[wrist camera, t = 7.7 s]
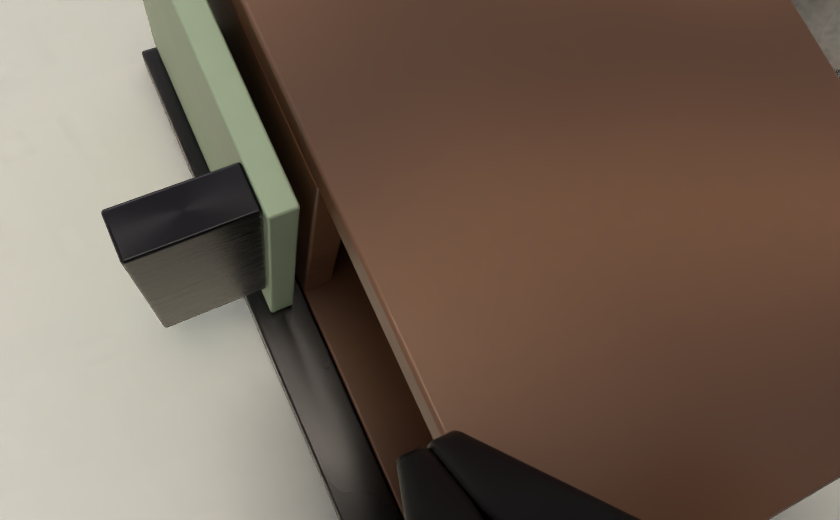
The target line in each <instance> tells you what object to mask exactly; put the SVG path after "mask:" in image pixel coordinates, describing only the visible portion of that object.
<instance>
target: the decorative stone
mask: <svg viewBox="0 0 840 520" xmlns="http://www.w3.org/2000/svg"><path fill="white" fill-rule="evenodd" d="M791 1H792V2H793V4H794V6H795V7H796V9H797V11H798V12H799V14H800V15H801V17H802V19H803V20H804V22H805V23H806V25H807V27H808V28H809V30H810V31H811V33H812V35H813V36H814V38H815V40H816V41H817V43H818V44H819V46H820V48H821V49H822V51H823V52H824V54H825V56H826V57H827V59H828V61H829V62H830V64H831V65H832V67H833V69H834V70H840V0H791Z"/></svg>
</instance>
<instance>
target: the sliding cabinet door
mask: <svg viewBox="0 0 840 520" xmlns="http://www.w3.org/2000/svg"><path fill="white" fill-rule="evenodd" d="M143 2H144V6H145V9H146V13H147V16H148V20H149V24H150V27H151V31H152V35H153V38H154V42H155V45H156V47H157V49H158V52H159V54H160V56H161V59H162V61H163V63H164V65H165V68H166V70H167V72H168V75H169V77H170V79H171V82H172V84H173V86H174V89H175V91H176V93H177V96H178V98H179V100H180V103H181V105H182V107H183V110H184V112H185V114H186V116H187V119H188V121H189V123H190V126H191V128H192V130H193V133H194V135H195V137H196V140H197V142H198V144H199V147H200V149H201V151H202V154H203V156H204V158H205V160H206V163H207V165H208V167H209V170H210V172H209V173H206V174H203V175H201V176H198V177H195V178H192V179H189V180H186V181H184V182H181V183H178V184H175V185H172V186H169V187H167V188H164V189H161V190H158V191H155V192H152V193H149V194H147V195H144V196H141V197H138V198H135V199H132V200H130V201H127V202H124V203H121V204H118V205H115V206H113V207H110V208H107V209H104V210H102V213H101V214H102V217H103V219H104V222H105V224H106V227H107V229H108V232H109V234H110V237H111V239H112V242H113V244H114V247H115V250H116V252H117V255H118V257H119V260H120V262H121V264H122V265H123V267H124V268H125V269H126V271H127V272H128V274H129V275H130V277H131V278H132V280H133V281H134V283H135V284H136V286H137V287H138V289H139V290H140V292H141V293H142V294H143V296H144V297H145V299H146V300H147V302H148V303H149V305H150V306H151V308H152V309H153V311H154V312H155V314H156V315H157V316H158V318H159V319H160V321H161V322H162V324H163V325H164V326H165V327H170V326H172V325H175V324H177V323H180V322H182V321H185V320H187V319H190V318H192V317H195V316H197V315H200V314H202V313H205V312H207V311H210V310H212V309H215V308H217V307H220V306H222V305H225V304H227V303H230V302H232V301H235V300H237V299H240V298H242V297H245V296H247V295H250V294H252V293H255V292H257V291H260V290H262V293H263V295H264V297H265V300H266V302H267V304H268V307H269V309H270V311H271V312H276V311H278V310H281V309H283V308H285V307H288V306H290V305H292V304H293V294H294V280H295V266H296V253H297V239H298V225H299V212H300V205H299V203H298V200H297V198H296V196H295V194H294V192H293V189H292V187H291V185H290V183H289V181H288V178H287V176H286V174H285V172H284V170H283V167H282V165H281V163H280V161H279V158H278V156H277V154H276V152H275V150H274V147H273V145H272V143H271V141H270V139H269V136H268V134H267V132H266V130H265V127H264V125H263V123H262V121H261V119H260V116H259V114H258V112H257V110H256V108H255V105H254V103H253V101H252V99H251V96H250V94H249V92H248V90H247V88H246V85H245V83H244V81H243V79H242V77H241V74H240V72H239V70H238V68H237V65H236V63H235V61H234V59H233V57H232V54H231V52H230V50H229V48H228V46H227V43H226V41H225V39H224V37H223V34H222V32H221V30H220V28H219V26H218V23H217V21H216V19H215V17H214V15H213V12H212V10H211V8H210V6H209V3H208V1H207V0H143Z"/></svg>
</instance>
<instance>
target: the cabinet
mask: <svg viewBox="0 0 840 520" xmlns="http://www.w3.org/2000/svg"><path fill="white" fill-rule="evenodd" d="M207 1H208V3H209V6H210V8H211V10H212V12H213V15H214V17H215V19H216V21H217V23H218V26H219V28H220V30H221V32H222V34H223V37H224V39H225V41H226V43H227V46H228V48H229V50H230V52H231V54H232V57H233V59H234V61H235V63H236V65H237V68H238V70H239V72H240V74H241V77H242V79H243V81H244V83H245V85H246V88H247V90H248V92H249V94H250V96H251V99H252V101H253V103H254V105H255V108H256V110H257V112H258V114H259V116H260V119H261V121H262V123H263V125H264V127H265V130H266V132H267V134H268V136H269V139H270V141H271V143H272V145H273V147H274V150H275V152H276V154H277V156H278V158H279V161H280V163H281V165H282V167H283V170H284V172H285V174H286V176H287V178H288V181H289V183H290V185H291V187H292V189H293V192H294V194H295V196H296V198H297V200H298V203H299V205H300V212H299V225H298V239H297V253H296V266H295V280H294V294H293V304H292V305H290V306H288V307H285V308H283V309H281V310H278V311H276V312H271V311H270V309H269V307H268V304H267V302H266V300H265V297H264V295H263V293H262V290H260V291H257V292H255V293H252V294H250V295H247V296H245V297H244V298H245V300H246V302H247V305H248V307H249V309H250V312H251V314H252V316H253V319H254V321H255V323H256V326H257V328H258V331H259V333H260V335H261V338H262V340H263V342H264V345H265V347H266V349H267V352H268V354H269V356H270V359H271V361H272V363H273V366H274V368H275V370H276V373H277V375H278V377H279V380H280V382H281V385H282V387H283V389H284V392H285V394H286V396H287V399H288V401H289V403H290V406H291V408H292V410H293V413H294V415H295V417H296V420H297V422H298V424H299V427H300V429H301V431H302V434H303V436H304V438H305V441H306V443H307V446H308V448H309V450H310V453H311V455H312V457H313V460H314V462H315V464H316V467H317V469H318V471H319V474H320V476H321V478H322V481H323V483H324V485H325V488H326V490H327V492H328V495H329V497H330V500H331V502H332V504H333V507H334V509H335V511H336V514H337V516H338V518H339V520H405V518H404V511H403V505H402V498H401V491H400V485H399V478H398V471H397V463H396V461H397V459H398V457H400V456H401V455H403V454H406V453H408V452H410V451H412V450H414V449H416V448H418V447H420V446H426V447H428V444H429V442H430V441H432V440H434V439H436V438H438V437H440V436H442V435H444V434H446V433H448V432H450V431H453V430H458V431H461V432H463V433H465V434H467V435H469V436H471V437H473V438H475V439H477V440H479V441H481V442H484V443H486V444H488V445H490V446H492V447H494V448H496V449H498V450H500V451H502V452H504V453H506V454H508V455H510V456H512V457H514V458H516V459H518V460H520V461H522V462H524V463H526V464H528V465H531V466H533V467H535V468H537V469H539V470H541V471H543V472H545V473H547V474H549V475H551V476H553V477H555V478H557V479H559V480H561V481H563V482H565V483H567V484H569V485H571V486H573V487H575V488H578V489H580V490H582V491H584V492H586V493H588V494H590V495H592V496H594V497H596V498H598V499H600V500H602V501H604V502H606V503H608V504H610V505H612V506H614V507H616V508H618V509H620V510H622V511H625V512H627V513H629V514H631V515H633V516H635V517H637V518H639V519H641V520H769V519H771V518H773V517H774V516H776V515H778V514H779V513H781V512H783V511H784V510H786V509H788V508H789V507H791V506H793V505H795V504H796V503H798V502H800V501H801V500H803V499H805V498H806V497H808V496H810V495H811V494H813V493H815V492H817V491H818V490H820V489H822V488H823V487H825V486H827V485H828V484H830V483H832V482H833V481H835V480H837V479H839V478H840V78H839V77H838V75H837V73H836V72H835V70H834V69H833V67H832V65H831V64H830V62H829V61H828V59H827V57H826V56H825V54H824V52H823V51H822V49H821V48H820V46H819V44H818V43H817V41H816V40H815V38H814V36H813V35H812V33H811V31H810V30H809V28H808V27H807V25H806V23H805V22H804V20H803V19H802V17H801V15H800V14H799V12H798V11H797V9H796V7H795V6H794V4H793V2H792V1H791V0H207ZM142 55H143V58H144V62H145V65H146V68H147V70H148V72H149V75H150V77H151V79H152V82H153V84H154V86H155V89H156V91H157V94H158V96H159V98H160V101H161V103H162V105H163V108H164V110H165V112H166V115H167V117H168V119H169V122H170V124H171V126H172V129H173V131H174V133H175V136H176V138H177V140H178V143H179V145H180V147H181V150H182V152H183V155H184V157H185V159H186V162H187V164H188V166H189V169H190V171H191V173H192V176H193V178H195V177H198V176H201V175H203V174H206V173H209V172H210V170H209V167H208V165H207V163H206V160H205V158H204V156H203V154H202V151H201V149H200V147H199V144H198V142H197V140H196V137H195V135H194V133H193V130H192V128H191V126H190V123H189V121H188V119H187V116H186V114H185V112H184V110H183V107H182V105H181V103H180V100H179V98H178V96H177V93H176V91H175V89H174V86H173V84H172V82H171V79H170V77H169V75H168V72H167V70H166V68H165V65H164V63H163V61H162V59H161V56H160V54H159V52H158V49H157V47H156V48H152V49H149V50H146V51H143V52H142Z"/></svg>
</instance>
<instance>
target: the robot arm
mask: <svg viewBox="0 0 840 520" xmlns="http://www.w3.org/2000/svg"><path fill="white" fill-rule="evenodd" d="M396 463H397V471H398V478H399V485H400V491H401V498H402V505H403V511H404V518H405V520H641V519H639V518H637V517H635V516H633V515H631V514H629V513H627V512H625V511H622V510H620V509H618V508H616V507H614V506H612V505H610V504H608V503H606V502H604V501H602V500H600V499H598V498H596V497H594V496H592V495H590V494H588V493H586V492H584V491H582V490H580V489H578V488H575V487H573V486H571V485H569V484H567V483H565V482H563V481H561V480H559V479H557V478H555V477H553V476H551V475H549V474H547V473H545V472H543V471H541V470H539V469H537V468H535V467H533V466H531V465H528V464H526V463H524V462H522V461H520V460H518V459H516V458H514V457H512V456H510V455H508V454H506V453H504V452H502V451H500V450H498V449H496V448H494V447H492V446H490V445H488V444H486V443H484V442H481V441H479V440H477V439H475V438H473V437H471V436H469V435H467V434H465V433H463V432H461V431H458V430H453V431H450V432H448V433H446V434H444V435H442V436H440V437H438V438H436V439H434V440H432V441H430V442H429V444H428V447H426V446H420V447H418V448H416V449H414V450H412V451H410V452H408V453H406V454H403V455H401V456H400V457H398V459H397V461H396Z"/></svg>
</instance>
